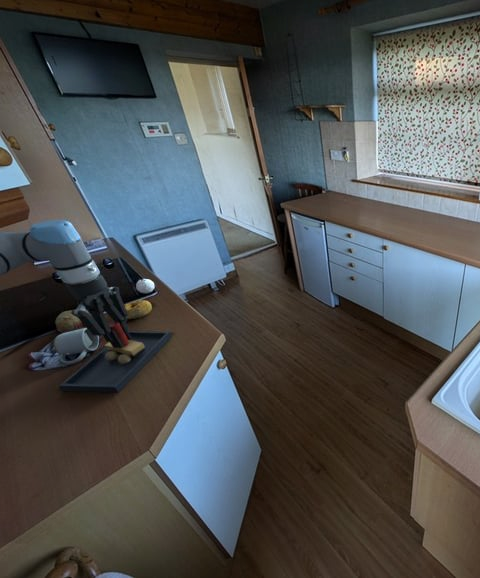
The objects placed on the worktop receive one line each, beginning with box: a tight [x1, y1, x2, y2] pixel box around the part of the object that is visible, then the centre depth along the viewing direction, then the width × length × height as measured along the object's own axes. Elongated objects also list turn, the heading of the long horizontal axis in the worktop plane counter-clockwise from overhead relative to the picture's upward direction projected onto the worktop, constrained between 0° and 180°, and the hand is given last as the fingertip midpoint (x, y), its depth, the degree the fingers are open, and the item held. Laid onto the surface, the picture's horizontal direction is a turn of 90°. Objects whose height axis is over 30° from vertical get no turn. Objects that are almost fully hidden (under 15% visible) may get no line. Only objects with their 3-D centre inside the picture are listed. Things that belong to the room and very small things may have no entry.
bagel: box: [121, 299, 153, 320], centre depth 112 cm, size 10×11×5 cm
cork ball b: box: [118, 354, 131, 364], centre depth 90 cm, size 3×3×3 cm
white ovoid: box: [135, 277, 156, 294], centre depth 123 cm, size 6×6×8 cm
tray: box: [59, 330, 173, 393], centre depth 91 cm, size 16×24×2 cm, turn 179°
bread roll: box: [54, 309, 91, 334], centre depth 105 cm, size 10×10×8 cm
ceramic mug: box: [52, 328, 100, 365], centre depth 92 cm, size 11×8×8 cm
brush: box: [104, 321, 145, 358], centre depth 90 cm, size 10×4×11 cm, turn 77°
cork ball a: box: [105, 351, 118, 361], centre depth 91 cm, size 3×3×3 cm
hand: (123, 342), depth 91 cm, fingers closed on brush, 3 cm apart
